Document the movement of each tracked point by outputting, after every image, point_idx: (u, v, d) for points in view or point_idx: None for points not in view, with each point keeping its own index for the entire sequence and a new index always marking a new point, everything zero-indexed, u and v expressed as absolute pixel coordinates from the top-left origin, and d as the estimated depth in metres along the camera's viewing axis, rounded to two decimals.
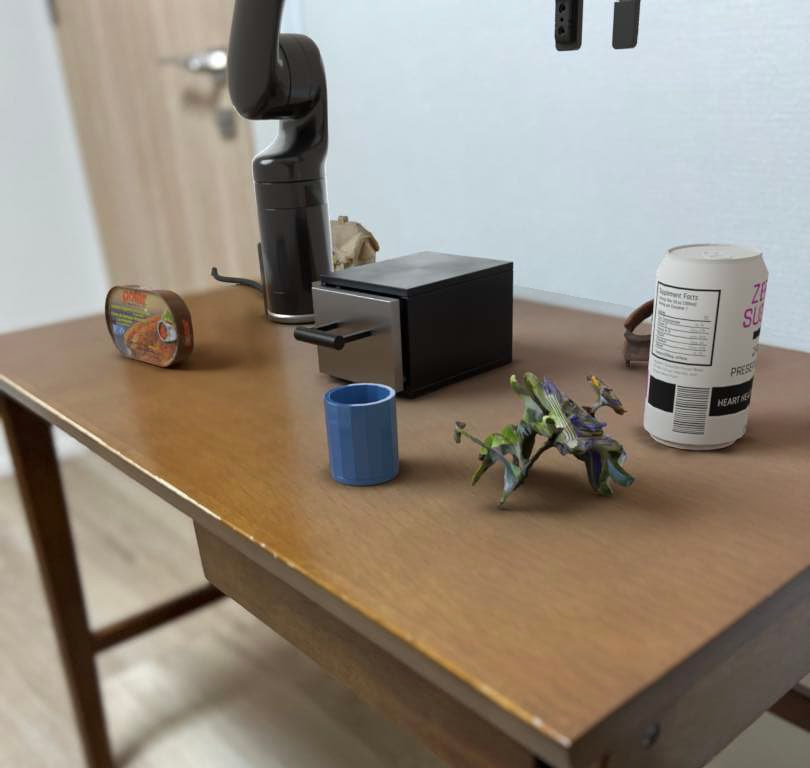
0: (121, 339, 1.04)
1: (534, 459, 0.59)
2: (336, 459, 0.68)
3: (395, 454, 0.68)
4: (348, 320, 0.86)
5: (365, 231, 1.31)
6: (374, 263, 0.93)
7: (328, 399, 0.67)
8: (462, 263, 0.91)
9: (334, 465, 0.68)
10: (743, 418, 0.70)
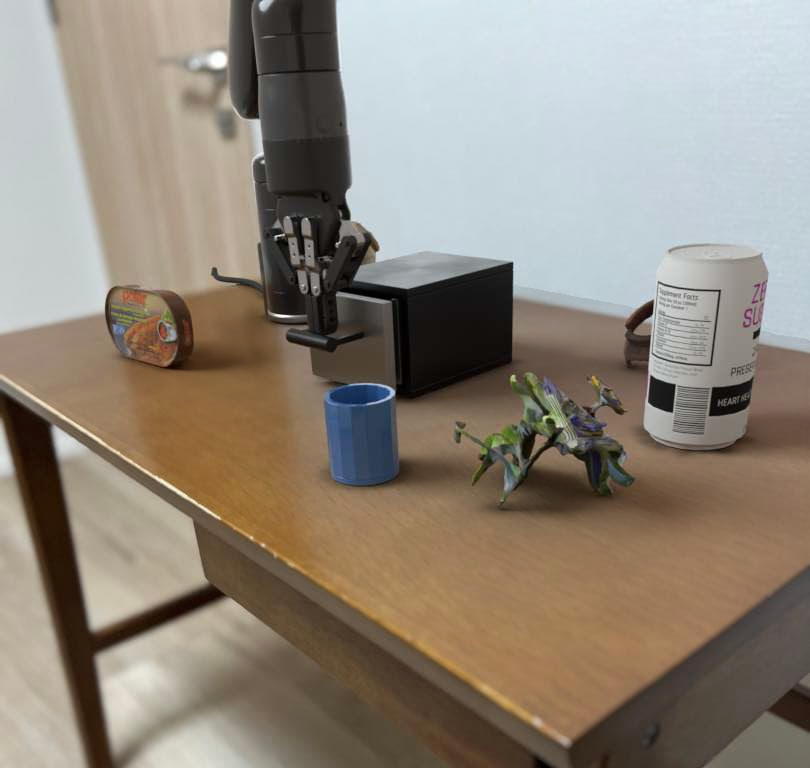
0: (121, 339, 1.04)
1: (534, 459, 0.59)
2: (336, 459, 0.68)
3: (395, 454, 0.68)
4: (341, 322, 0.85)
5: (365, 231, 1.31)
6: (374, 263, 0.93)
7: (328, 399, 0.67)
8: (462, 263, 0.91)
9: (334, 465, 0.68)
10: (743, 418, 0.70)
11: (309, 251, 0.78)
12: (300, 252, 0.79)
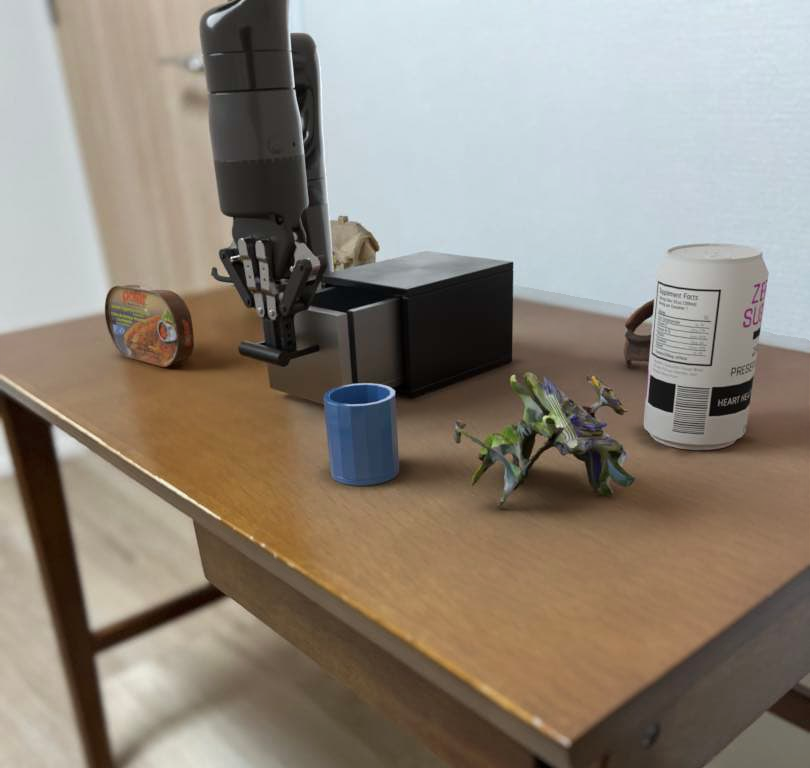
0: (121, 339, 1.04)
1: (534, 459, 0.59)
2: (336, 459, 0.68)
3: (395, 454, 0.68)
4: (296, 334, 0.82)
5: (365, 231, 1.31)
6: (374, 263, 0.93)
7: (328, 399, 0.67)
8: (462, 263, 0.91)
9: (334, 465, 0.68)
10: (743, 418, 0.70)
11: (264, 274, 0.75)
12: (255, 275, 0.76)
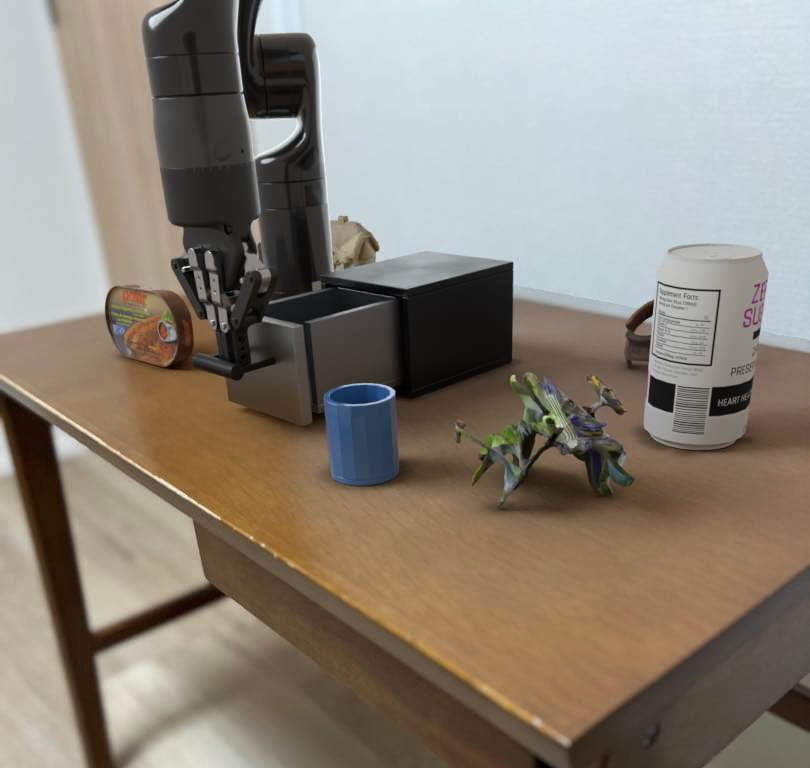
0: (121, 339, 1.04)
1: (534, 459, 0.59)
2: (336, 459, 0.68)
3: (395, 454, 0.68)
4: (253, 346, 0.79)
5: (365, 231, 1.31)
6: (374, 263, 0.93)
7: (328, 399, 0.67)
8: (462, 263, 0.91)
9: (334, 465, 0.68)
10: (743, 418, 0.70)
11: (214, 286, 0.72)
12: (206, 286, 0.74)
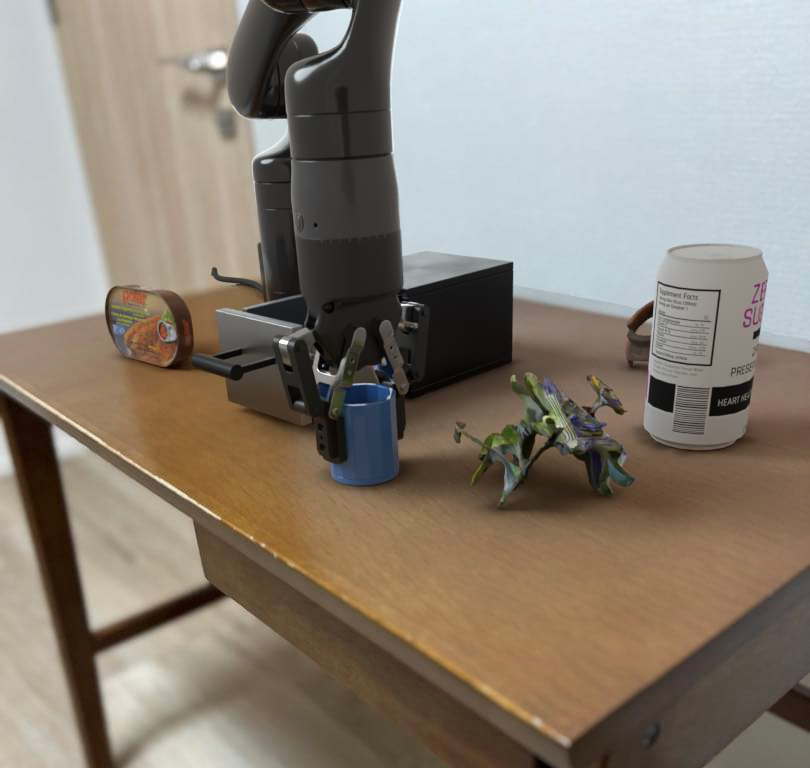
0: (121, 339, 1.04)
1: (534, 459, 0.59)
2: None
3: (395, 454, 0.68)
4: (252, 346, 0.79)
5: None
6: None
7: None
8: (462, 263, 0.91)
9: (334, 465, 0.68)
10: (743, 418, 0.70)
11: None
12: None
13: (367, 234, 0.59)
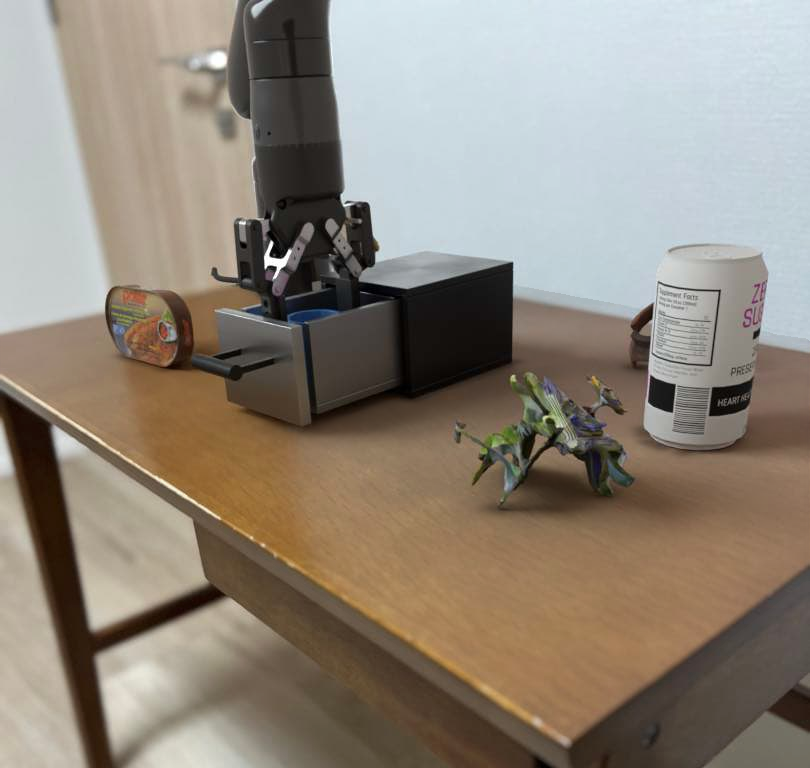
0: (121, 339, 1.04)
1: (534, 459, 0.59)
2: None
3: None
4: (251, 346, 0.79)
5: None
6: None
7: None
8: (462, 263, 0.91)
9: None
10: (743, 418, 0.70)
11: None
12: None
13: (311, 141, 0.72)
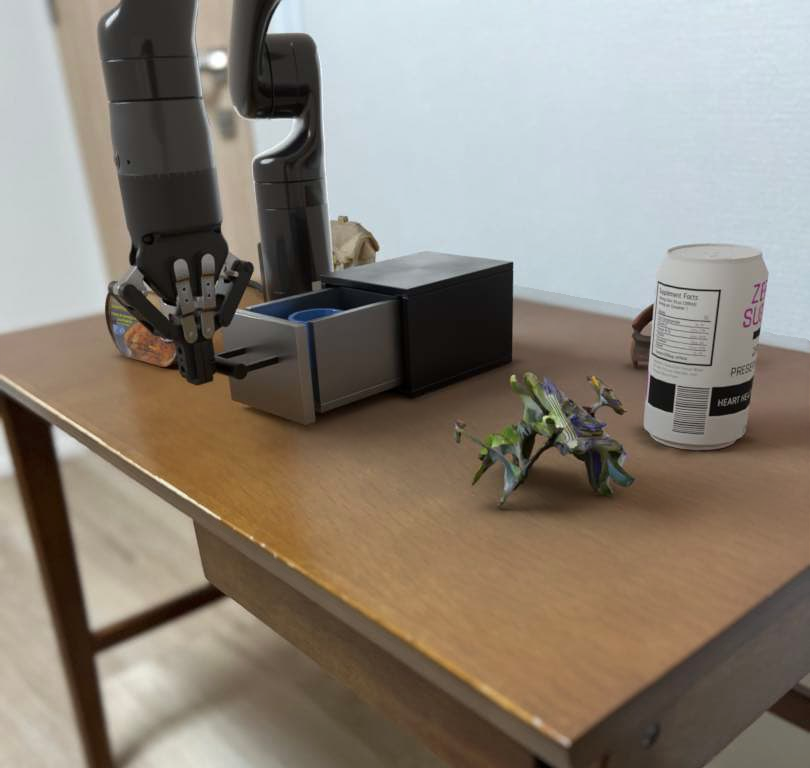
0: (121, 339, 1.04)
1: (534, 459, 0.59)
2: None
3: None
4: (256, 345, 0.79)
5: (365, 231, 1.31)
6: (374, 263, 0.93)
7: (291, 318, 0.82)
8: (462, 263, 0.91)
9: None
10: (743, 418, 0.70)
11: None
12: None
13: (175, 170, 0.65)
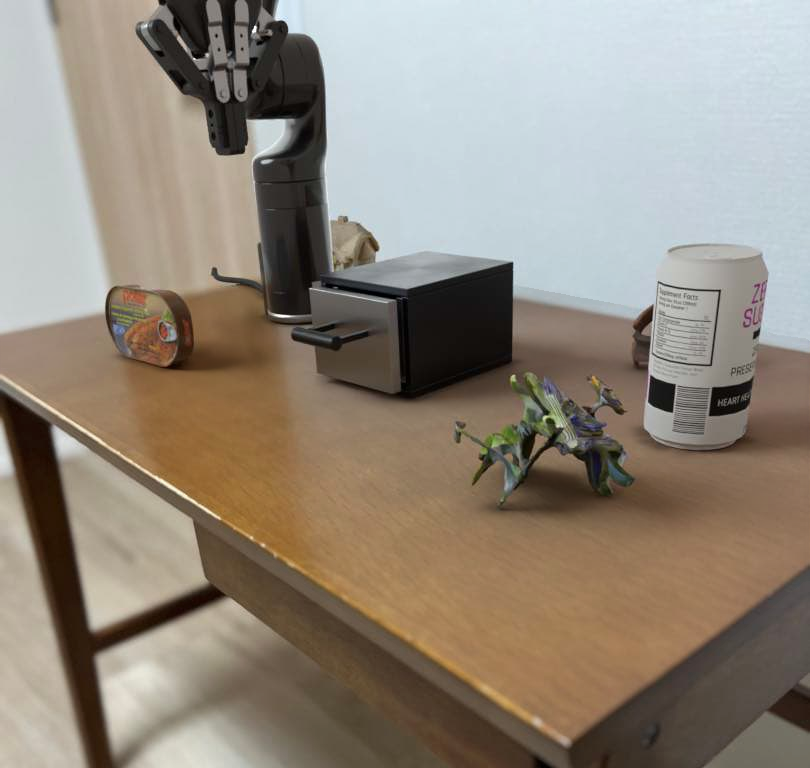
0: (121, 339, 1.04)
1: (534, 459, 0.59)
2: None
3: None
4: (345, 321, 0.86)
5: (365, 231, 1.31)
6: (374, 263, 0.93)
7: (376, 296, 0.88)
8: (462, 263, 0.91)
9: None
10: (743, 418, 0.70)
11: None
12: None
13: None
